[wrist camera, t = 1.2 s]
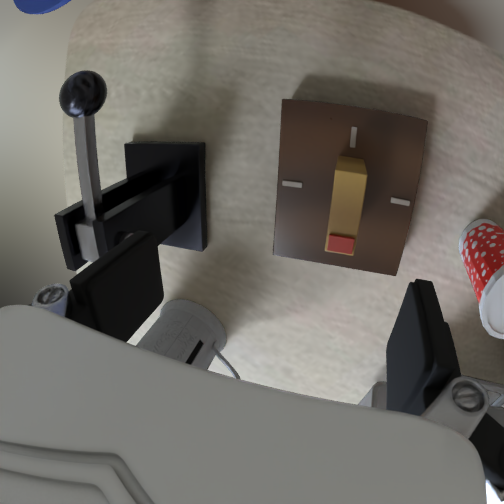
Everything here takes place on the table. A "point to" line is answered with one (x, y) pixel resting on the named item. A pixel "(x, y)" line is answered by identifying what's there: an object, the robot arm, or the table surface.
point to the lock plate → (322, 179)
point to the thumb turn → (346, 205)
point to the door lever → (86, 149)
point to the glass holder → (187, 335)
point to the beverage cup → (486, 271)
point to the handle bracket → (147, 201)
